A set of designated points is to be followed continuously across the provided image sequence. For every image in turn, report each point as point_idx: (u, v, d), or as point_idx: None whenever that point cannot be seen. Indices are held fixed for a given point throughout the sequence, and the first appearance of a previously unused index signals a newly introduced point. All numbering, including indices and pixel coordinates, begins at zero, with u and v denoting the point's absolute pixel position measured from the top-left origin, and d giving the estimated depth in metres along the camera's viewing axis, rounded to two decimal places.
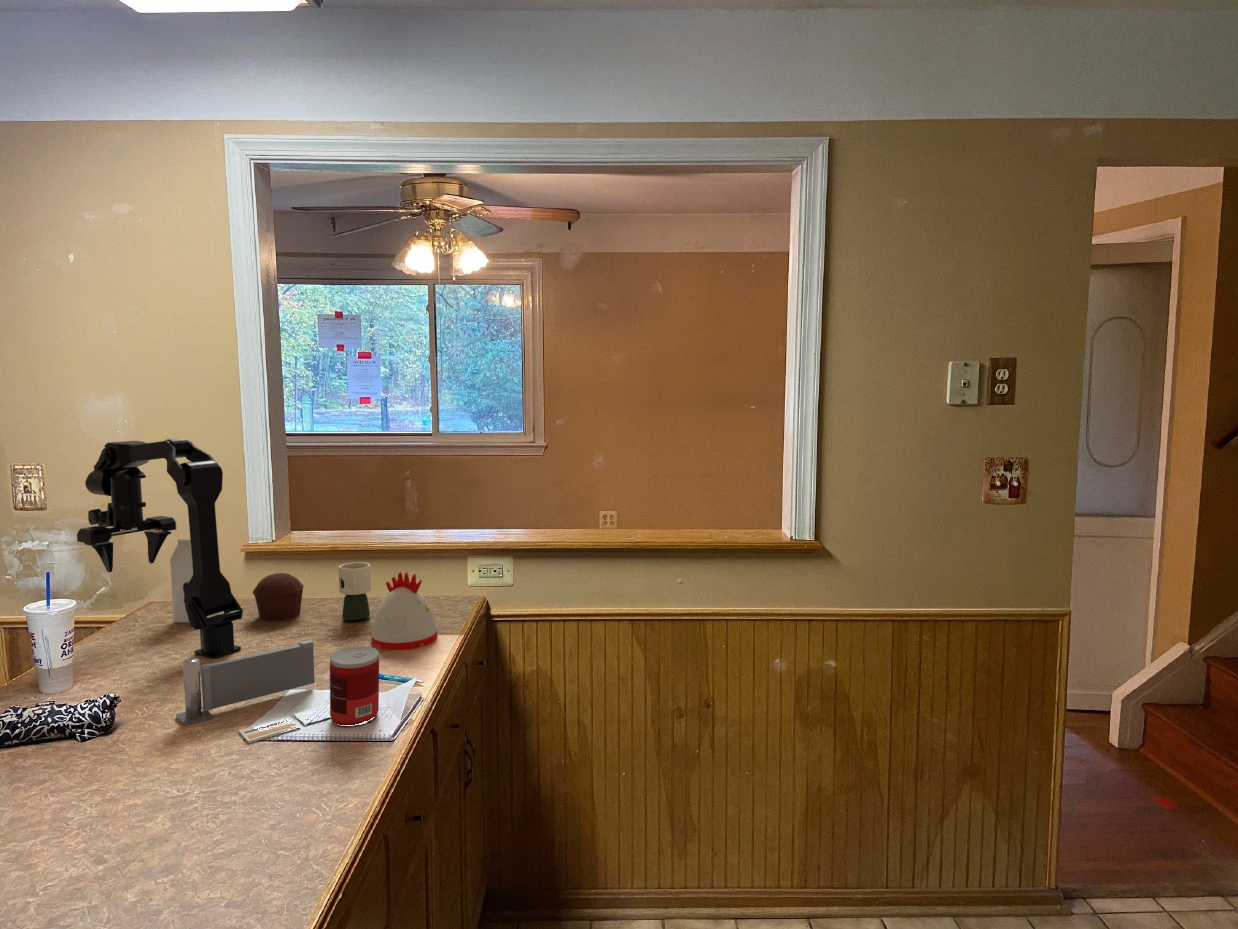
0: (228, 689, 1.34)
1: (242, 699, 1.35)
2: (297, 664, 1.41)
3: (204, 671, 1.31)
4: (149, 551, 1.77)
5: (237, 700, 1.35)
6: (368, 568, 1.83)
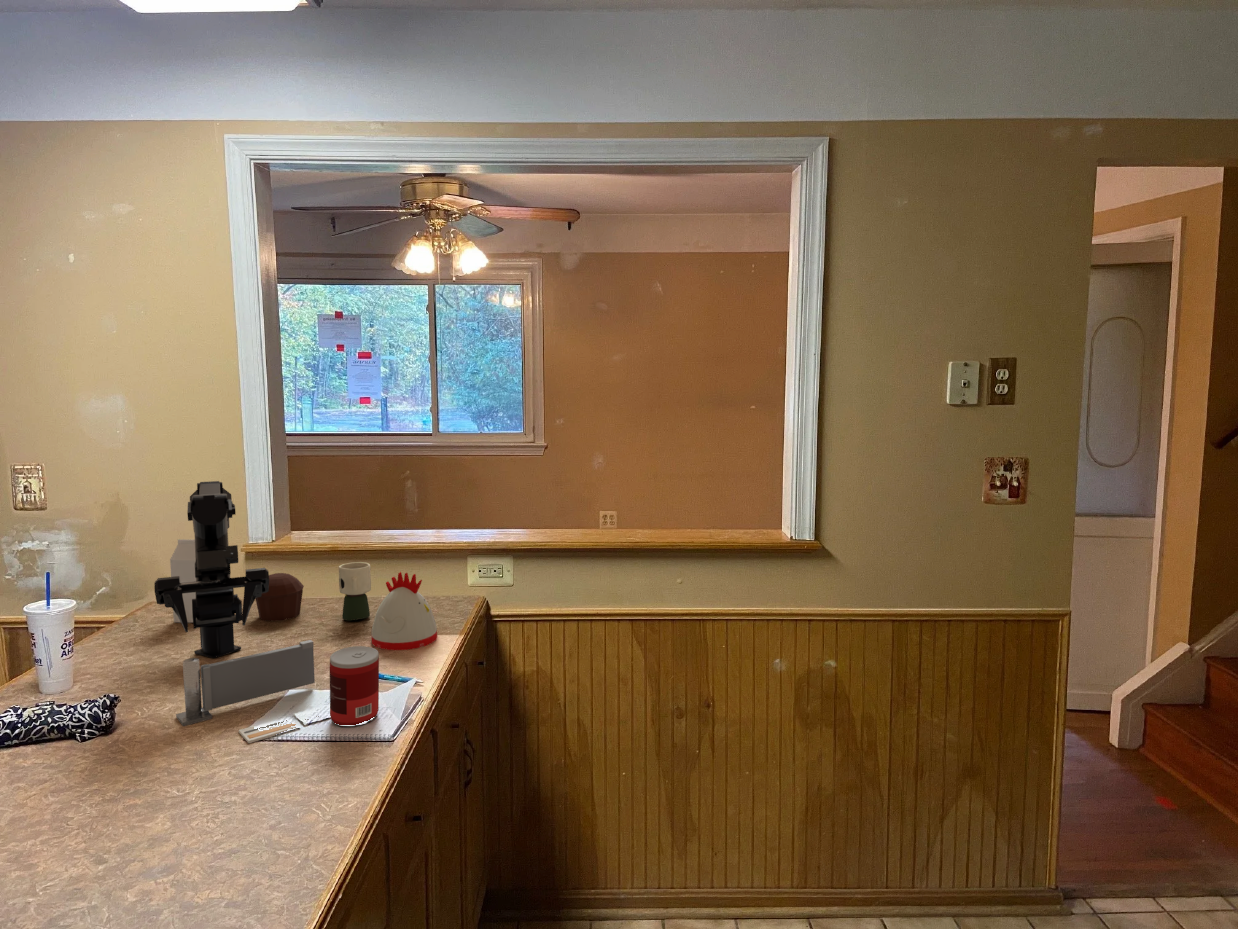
0: (228, 689, 1.34)
1: (242, 699, 1.35)
2: (297, 664, 1.41)
3: (204, 671, 1.31)
4: None
5: (237, 700, 1.35)
6: (368, 568, 1.83)
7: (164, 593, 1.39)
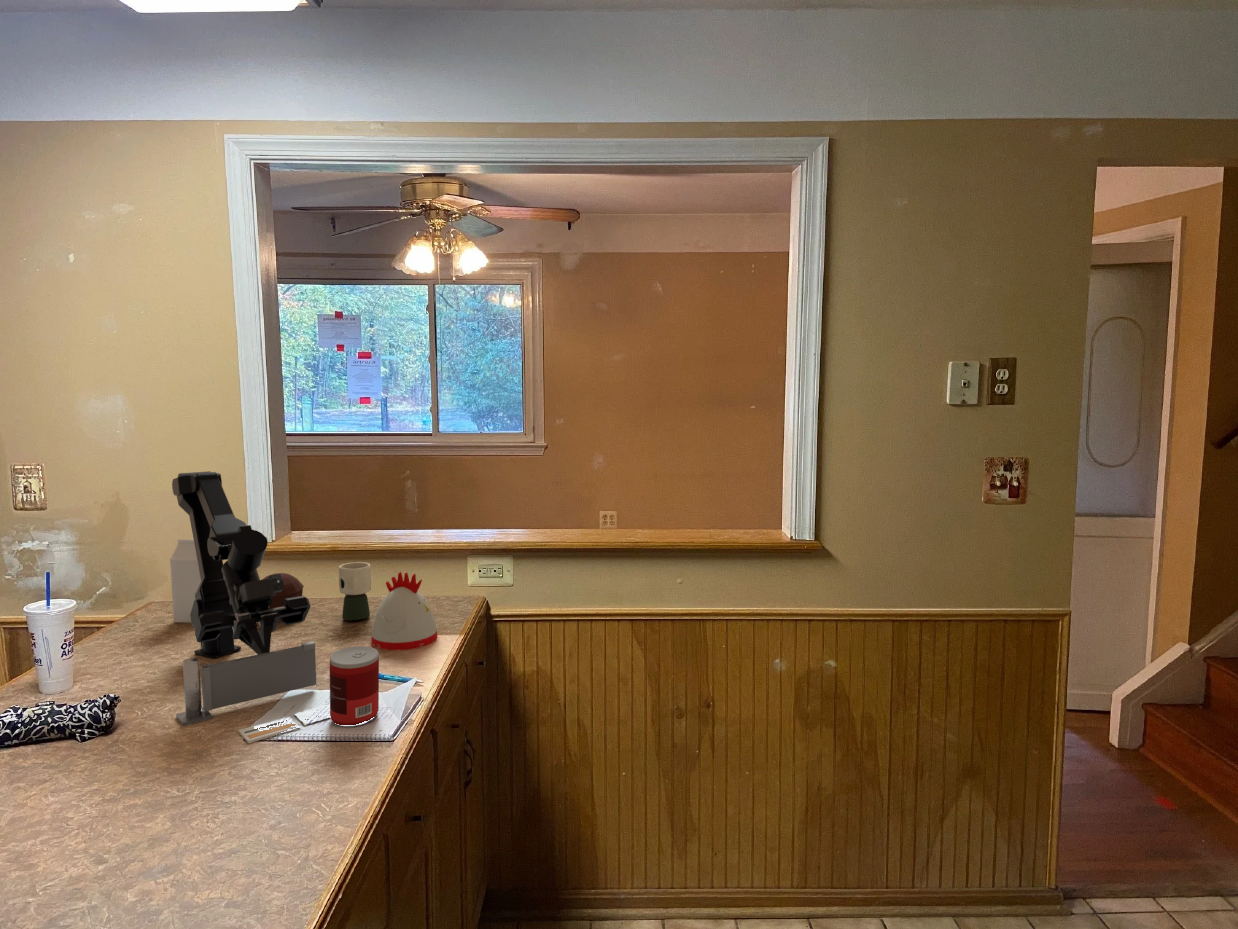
0: (228, 689, 1.33)
1: (242, 700, 1.35)
2: (298, 665, 1.41)
3: (204, 671, 1.30)
4: None
5: (237, 700, 1.34)
6: (368, 568, 1.83)
7: (239, 623, 1.37)
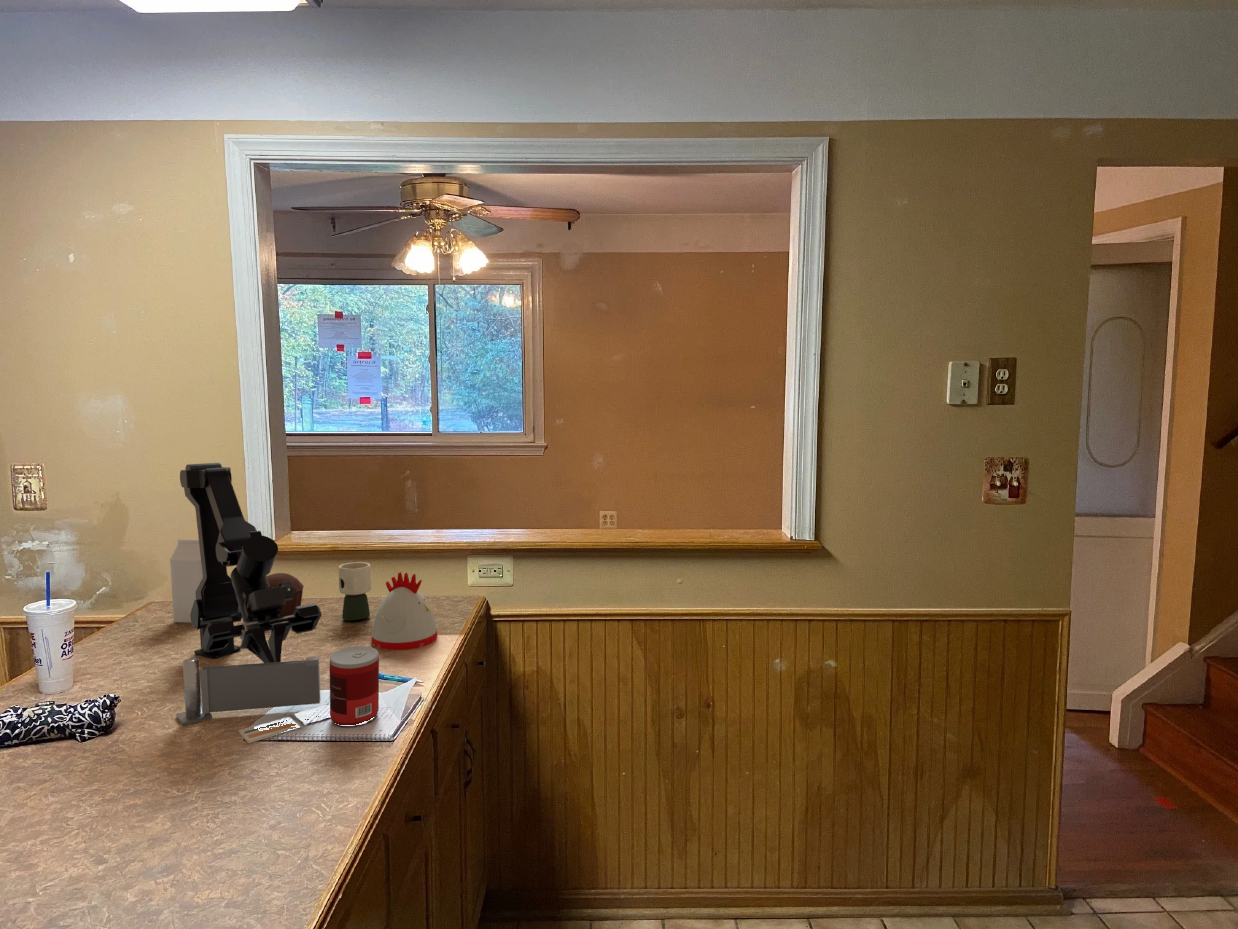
0: (226, 695, 1.31)
1: (241, 707, 1.32)
2: (300, 681, 1.34)
3: (201, 673, 1.30)
4: None
5: (235, 707, 1.32)
6: (368, 568, 1.83)
7: (247, 632, 1.33)
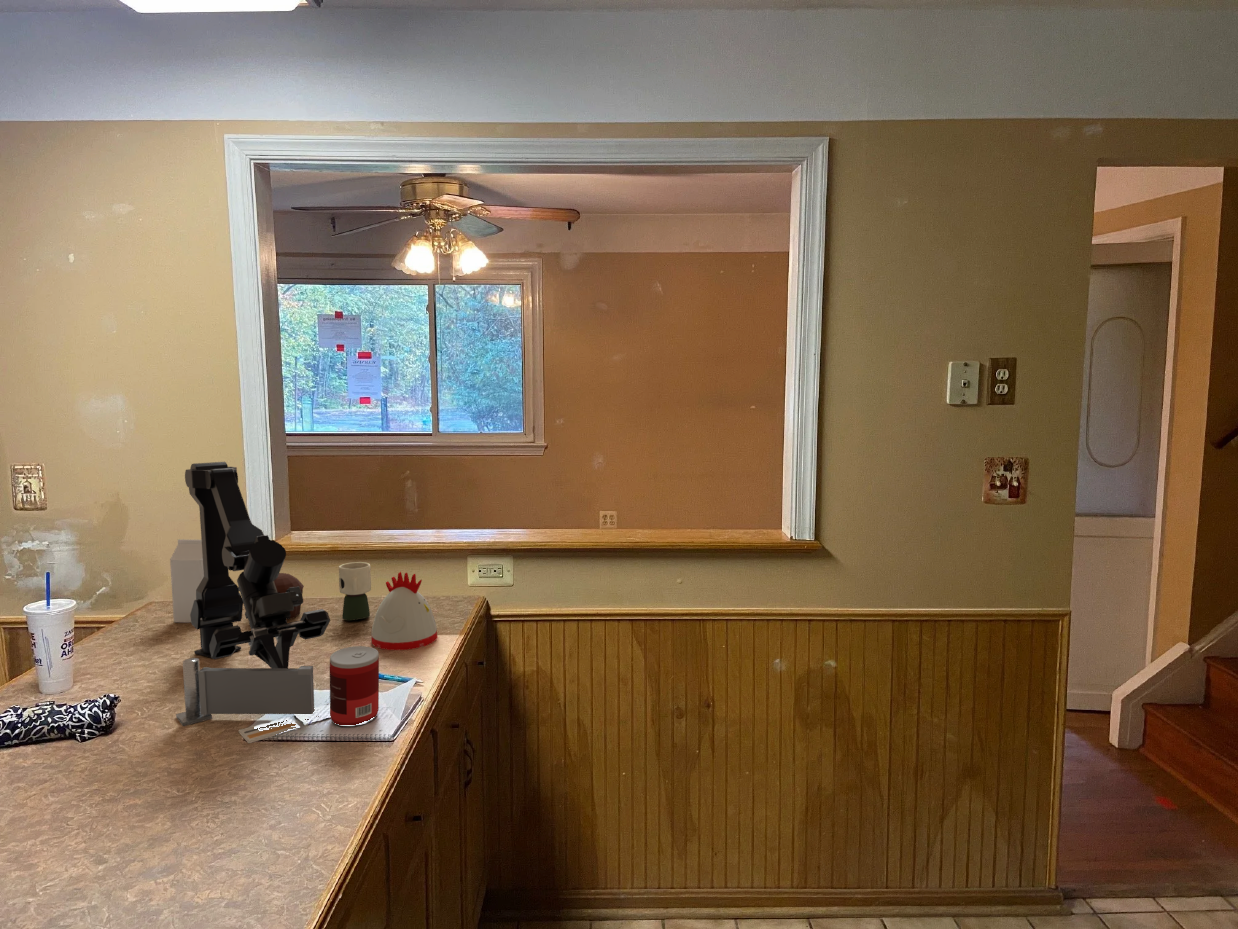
0: (223, 698, 1.30)
1: (236, 712, 1.30)
2: (293, 689, 1.30)
3: (199, 674, 1.29)
4: None
5: (231, 711, 1.30)
6: (368, 568, 1.83)
7: (256, 638, 1.30)
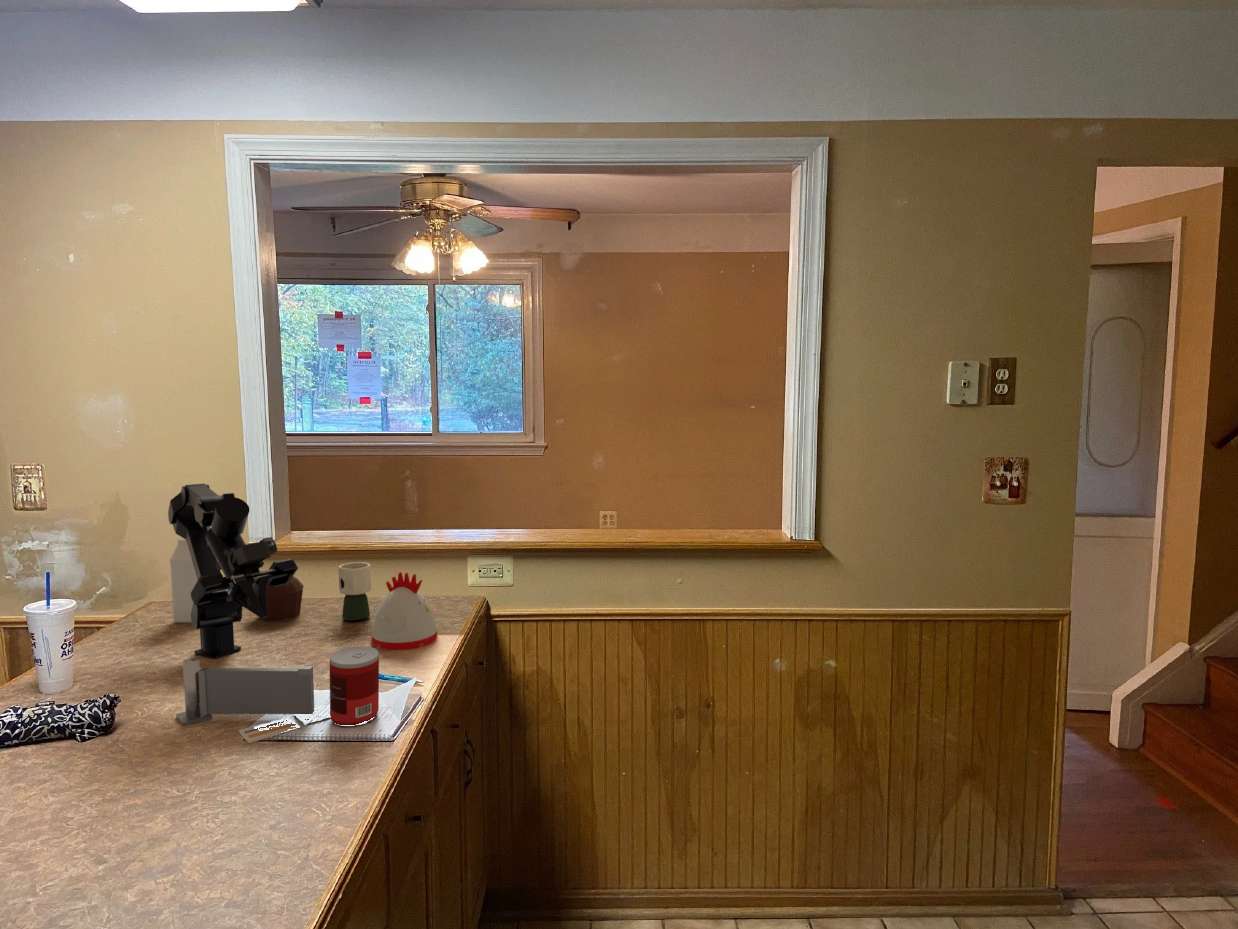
0: (223, 698, 1.30)
1: (236, 712, 1.30)
2: (293, 689, 1.30)
3: (199, 674, 1.29)
4: None
5: (231, 711, 1.30)
6: (368, 568, 1.83)
7: (237, 584, 1.44)
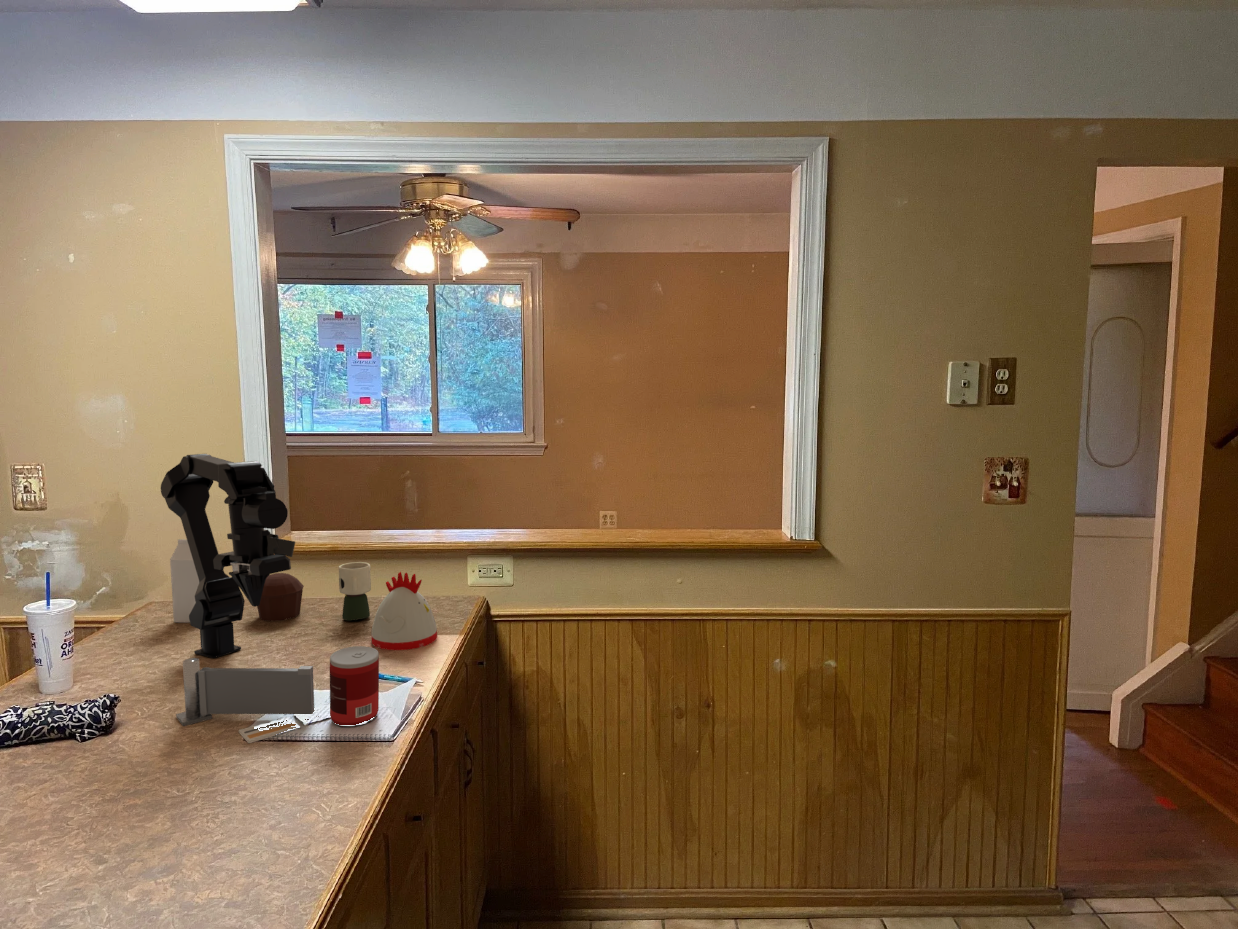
0: (223, 698, 1.30)
1: (236, 712, 1.30)
2: (293, 689, 1.30)
3: (199, 674, 1.29)
4: None
5: (231, 711, 1.30)
6: (368, 568, 1.83)
7: None
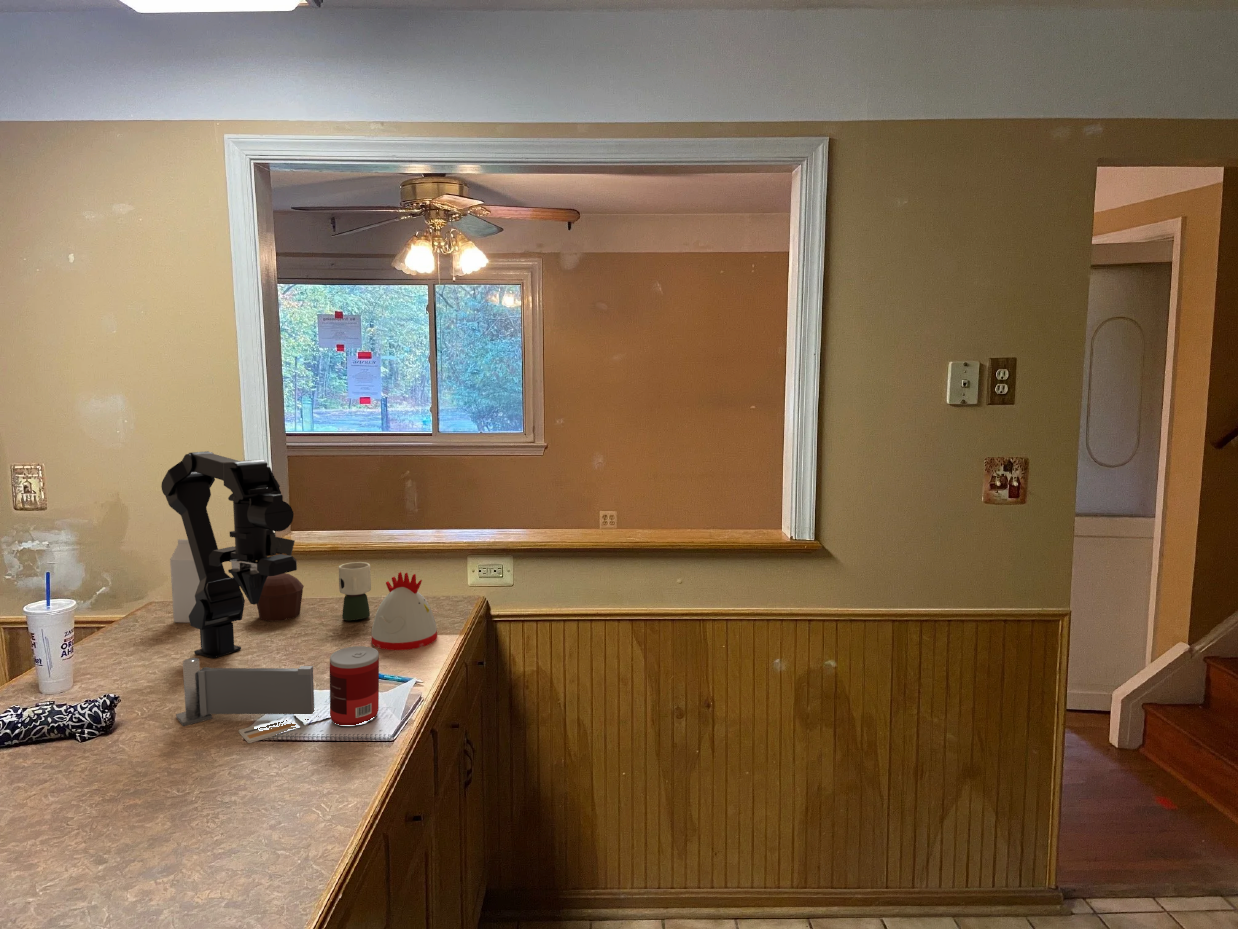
0: (223, 698, 1.30)
1: (236, 712, 1.30)
2: (293, 689, 1.30)
3: (199, 674, 1.29)
4: None
5: (231, 711, 1.30)
6: (368, 568, 1.83)
7: None
